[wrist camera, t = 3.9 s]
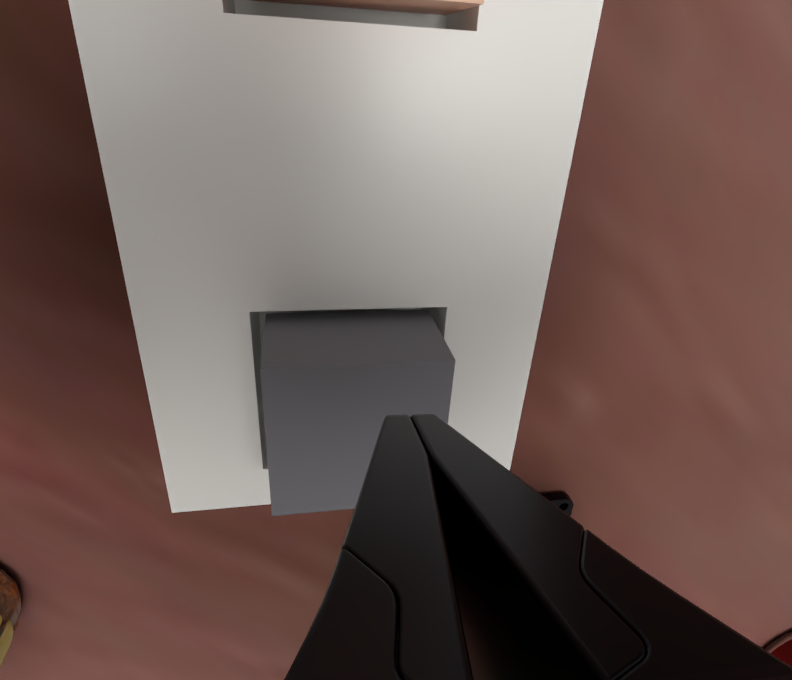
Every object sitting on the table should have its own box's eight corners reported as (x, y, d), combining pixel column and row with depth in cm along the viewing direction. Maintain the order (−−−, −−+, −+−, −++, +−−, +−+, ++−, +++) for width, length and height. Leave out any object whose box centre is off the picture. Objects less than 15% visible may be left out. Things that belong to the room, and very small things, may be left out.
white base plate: (478, 426, 23) (507, 483, 20) (189, 446, 21) (171, 512, 18) (593, -309, 13) (688, -426, 10) (44, -419, 10) (-57, -614, 7)
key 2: (417, 435, 19) (438, 500, 16) (274, 445, 18) (271, 515, 15) (428, 309, 16) (455, 360, 14) (265, 313, 16) (260, 368, 13)
